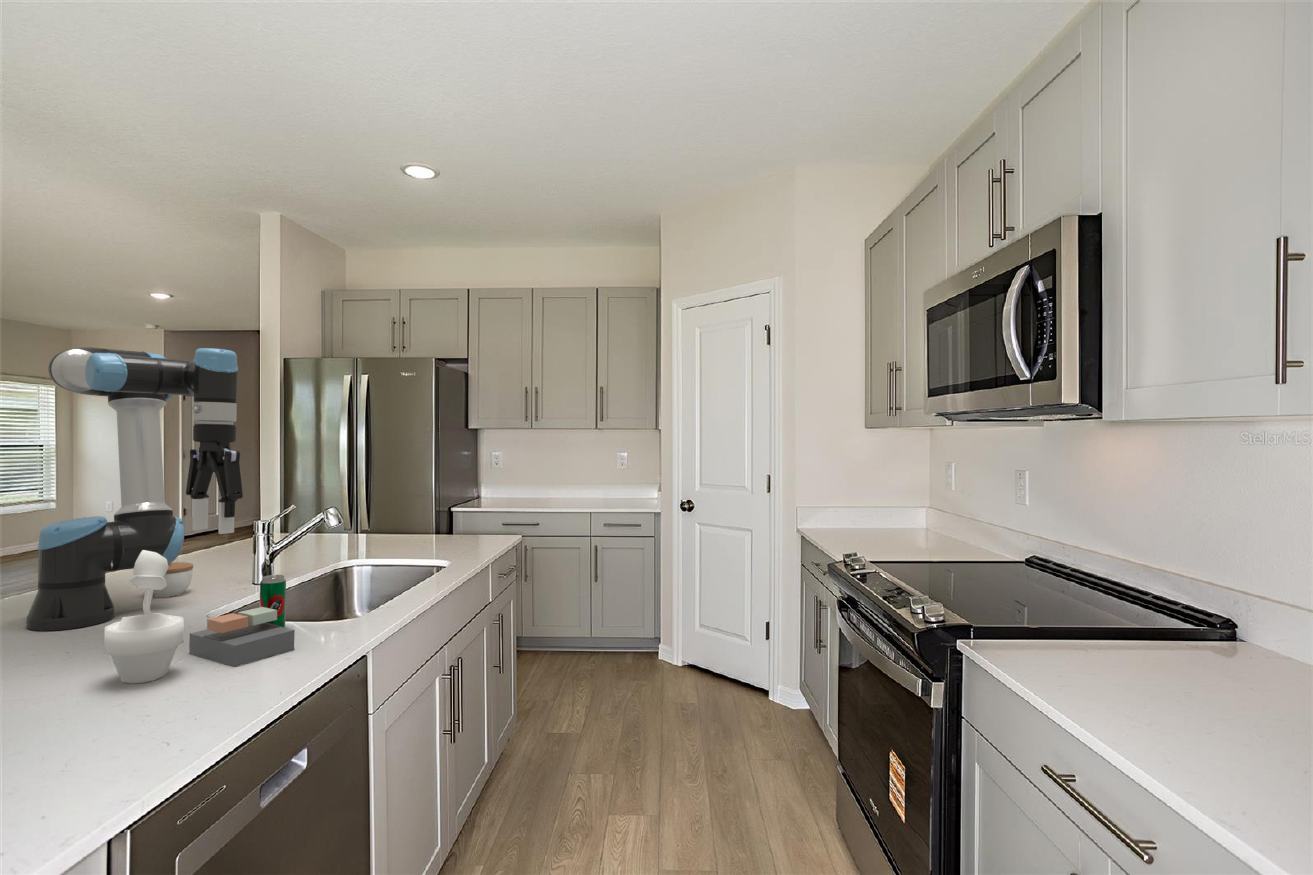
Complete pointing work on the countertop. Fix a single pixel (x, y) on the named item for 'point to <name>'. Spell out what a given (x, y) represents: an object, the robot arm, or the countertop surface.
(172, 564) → the lidded jar
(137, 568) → the white floating cup sculpture
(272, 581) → the soda can
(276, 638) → the button panel
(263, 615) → the sage key
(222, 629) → the rust key
